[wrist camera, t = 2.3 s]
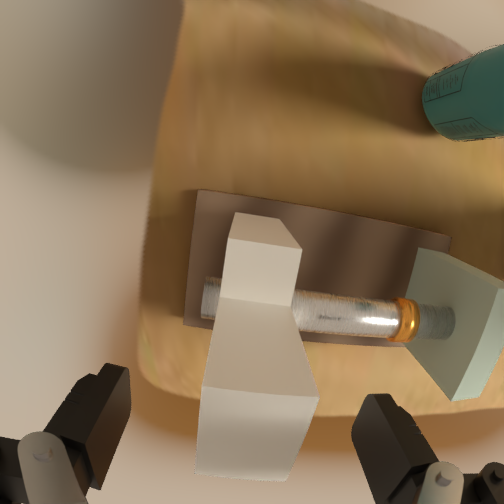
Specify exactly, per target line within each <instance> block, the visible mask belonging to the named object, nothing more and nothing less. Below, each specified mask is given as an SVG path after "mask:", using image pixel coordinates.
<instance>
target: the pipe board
mask: <svg viewBox="0 0 504 504" xmlns="http://www.w3.org/2000/svg"><path fill="white" fill-rule="evenodd" d="M235 212H238V213H245V214H251V215H258V216H264V217H270V218H277V219H280V220H281V222H282V223H283V224H284V226H285V227H286V228H287V230H288V231H289V232H290V234H291V235H292V236H293V238H294V239H295V240H296V241H297V243H298V244H299V245H300V247H301V248H302V254H301V259H300V264H299V269H298V274H297V279H296V284H295V288H294V289H299V290H307V291H315V292H323V293H331V294H339V295H347V296H355V297H364V298H373V299H381V300H391V299H392V298H394V297H399V298H405V296H406V292H407V289H408V285H409V282H410V278H411V275H412V271H413V267H414V263H415V259H416V255H417V251H418V247H419V248H424V249H429V250H434V251H438V252H443V253H446V254H448V251H449V247H450V243H451V238H452V237H450V236H447V235H444V234H441V233H436V232H432V231H428V230H424V229H419V228H415V227H411V226H406V225H402V224H397V223H393V222H388V221H383V220H378V219H374V218H369V217H364V216H359V215H354V214H349V213H344V212H339V211H334V210H328V209H323V208H317V207H312V206H306V205H301V204H295V203H289V202H283V201H277V200H271V199H265V198H259V197H252V196H246V195H239V194H233V193H226V192H219V191H212V190H204V189H199V190H198V193H197V200H196V208H195V216H194V223H193V232H192V240H191V249H190V258H189V267H188V277H187V287H186V298H185V309H184V321H183V325H186V326H192V327H199V328H205V329H211V330H213V327H214V322H215V320H212V319H205V318H201V305H202V297H203V291H204V285H205V281H206V277H207V276H208V277H214V278H221V279H222V276H223V269H224V262H225V255H226V248H227V241H228V236H229V232H230V229H231V225H232V222H233V219H234V215H235ZM299 334H300V337H301V340H302V341H310V342H321V343H333V344H347V345H363V346H383V347H406V346H405V345H404V344H403V343H402V342H389V341H388V340H387V339H386V338H381V337H365V336H351V335H339V334H327V333H316V332H306V331H299Z"/></svg>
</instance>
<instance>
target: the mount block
mask: <svg viewBox="0 0 504 504" xmlns="http://www.w3.org/2000/svg"><path fill="white" fill-rule="evenodd" d="M405 298H408V299H413V300H415V301H416V302H417V303H419V304H429V305H439V306H449V307H451V308H452V309H453V311H454V313H455V318H456V323H455V328H454V331H453V333H452V335H451V336H450V337H449V338H448V339H446V340H427V339H413V340H412V341H410V342H407V343H405V342H402V343H403V344H404V345H405V346H406V348H407V349H408V350H409V351H410V352H411V353H412V355H413V356H414V357H415V358H416V359H417V361H418V362H419V363H420V364H421V365H422V367H423V368H424V369H425V370H426V371H427V373H428V374H429V375H430V376H431V377H432V379H433V380H434V381H435V382H436V384H437V385H438V386H439V387H440V388H441V390H442V391H443V392H444V393H445V395H446V396H447V397H448V398H449V400H450V401H457V400H464V399H470V398H476V397H479V396H480V394H481V392H482V390H483V389H484V387H485V385H486V383H487V381H488V379H489V377H490V375H491V373H492V371H493V369H494V367H495V365H496V362H497V360H498V358H499V356H500V354H501V351H502V349H503V347H504V281H502V280H500V279H498V278H496V277H494V276H492V275H490V274H488V273H486V272H484V271H482V270H480V269H478V268H476V267H473V266H471V265H469V264H467V263H465V262H463V261H461V260H459V259H457V258H454V257H452V256H450V255H448V254H446V253H443V252H438V251H434V250H429V249H424V248H419V247H418V251H417V255H416V259H415V263H414V267H413V271H412V275H411V278H410V282H409V285H408V289H407V292H406V296H405Z"/></svg>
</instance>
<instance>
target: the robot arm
mask: <svg viewBox="0 0 504 504" xmlns="http://www.w3.org/2000/svg"><path fill="white" fill-rule="evenodd" d="M130 411H131V392H130V376H129V369H128V368H126V367H122V366H118V365H113V364H110V363H106V364H104V366H103V367H102V369H101V370H100V372H99V373H98V375H94V374H90V373H89V374H88V375H86V376H85V377H83V378H81V379H80V380H78V381H77V382H76V384H75V385H74V387H73V388H72V389H71V392H70V393H69V394H68V395H67V397H66V398H65V401H63V402H62V404H61V405H60V407H59V408H58V410H57V411H56V413H55V414H54V416H53V417H52V419H51V420H50V422H49V423H48V425H47V426H46V428H45V429H44V430H43V432H33V433H30V434H28V435H26V436H25V437H23V438H22V439H21V440H15V439H10V438H5V437H0V504H21V503H23V504H88V502H87V499H86V497H85V496H86V494H87V491H88V489H89V487H91V488H95V489H97V490H101V487H102V485H103V482H104V480H105V477H106V474H107V472H108V469H109V466H110V464H111V461H112V459H113V456H114V454H115V451H116V449H117V446H118V444H119V441H120V439H121V436H122V434H123V431H124V429H125V427H126V424H127V422H128V419H129V416H130ZM351 436H352V442H353V444H354V447H355V449H356V452H357V455H358V457H359V460H360V463H361V465H362V468H363V471H364V473H365V476H366V479H367V481H368V484H369V487H370V490H371V492H372V495H373V498H374V500H375V503H376V504H504V465H503V464H501V463H497V462H492V463H488V464H487V465H486V466H485V467H484V468H483V469H482V470H481V472H480V473H479V474H462V472H461V471H460V470H459V468H458V467H456V466H455V465H453V464H451V463H449V462H443V461H442V462H439V460H438V459H437V457H436V455H435V454H434V452H433V450H432V449H431V447H430V445H429V444H428V442H427V440H426V439H425V438H424V436H423V434H421V431H420V429H419V428H418V426H416V423H415V421H414V420H413V418H412V416H411V415H410V414H409V413H408V412H407V411H405V410H404V409H403V408H402V407H401V406H397V404H396V403H395V401H394V400H393V398H392V396H391V395H390V394H387V393H386V394H368V395H367V396H366V398H365V400H364V402H363V404H362V406H361V409H360V411H359V413H358V415H357V417H356V419H355V422H354V424H353V426H352V432H351Z"/></svg>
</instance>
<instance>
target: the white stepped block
mask: <svg viewBox="0 0 504 504" xmlns="http://www.w3.org/2000/svg"><path fill="white" fill-rule="evenodd" d="M301 254H302V248H301V247H300V245H299V244H298V243H297V241H296V240H295V239H294V238H293V236H292V235H291V234H290V232H289V231H288V230H287V228H286V227H285V226H284V224H283V223H282V222H281V220H280V219H277V218H270V217H264V216H258V215H251V214H245V213H238V212H235V215H234V219H233V222H232V225H231V229H230V232H229V236H228V241H227V248H226V255H225V262H224V269H223V276H222V283H221V291H220V298H219V303H218V308H217V312H216V317H215V322H214V327H213V332H212V337H211V342H210V347H209V352H208V357H207V363H206V368H205V373H204V378H203V383H202V391H201V401H200V412H199V413H200V414H199V424H198V435H197V447H196V460H195V474H199V475H207V476H215V477H223V478H234V479H245V480H260V481H286V480H287V477H288V475H289V473H290V471H291V468H292V466H293V464H294V462H295V459H296V457H297V455H298V452H299V450H300V447H301V445H302V443H303V440H304V438H305V435H306V433H307V430H308V428H309V425H310V422H311V420H312V417H313V415H314V412H315V409H316V406H317V404H318V401H319V398H320V396H319V393H318V390H317V386H316V383H315V380H314V377H313V374H312V371H311V368H310V364H309V361H308V358H307V355H306V352H305V349H304V346H303V343H302V340H301V337H300V334H299V330H298V327H297V324H296V321H295V318H294V315H293V312H292V309H291V303H292V298H293V293H294V288H295V284H296V279H297V274H298V269H299V264H300V259H301Z"/></svg>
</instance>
